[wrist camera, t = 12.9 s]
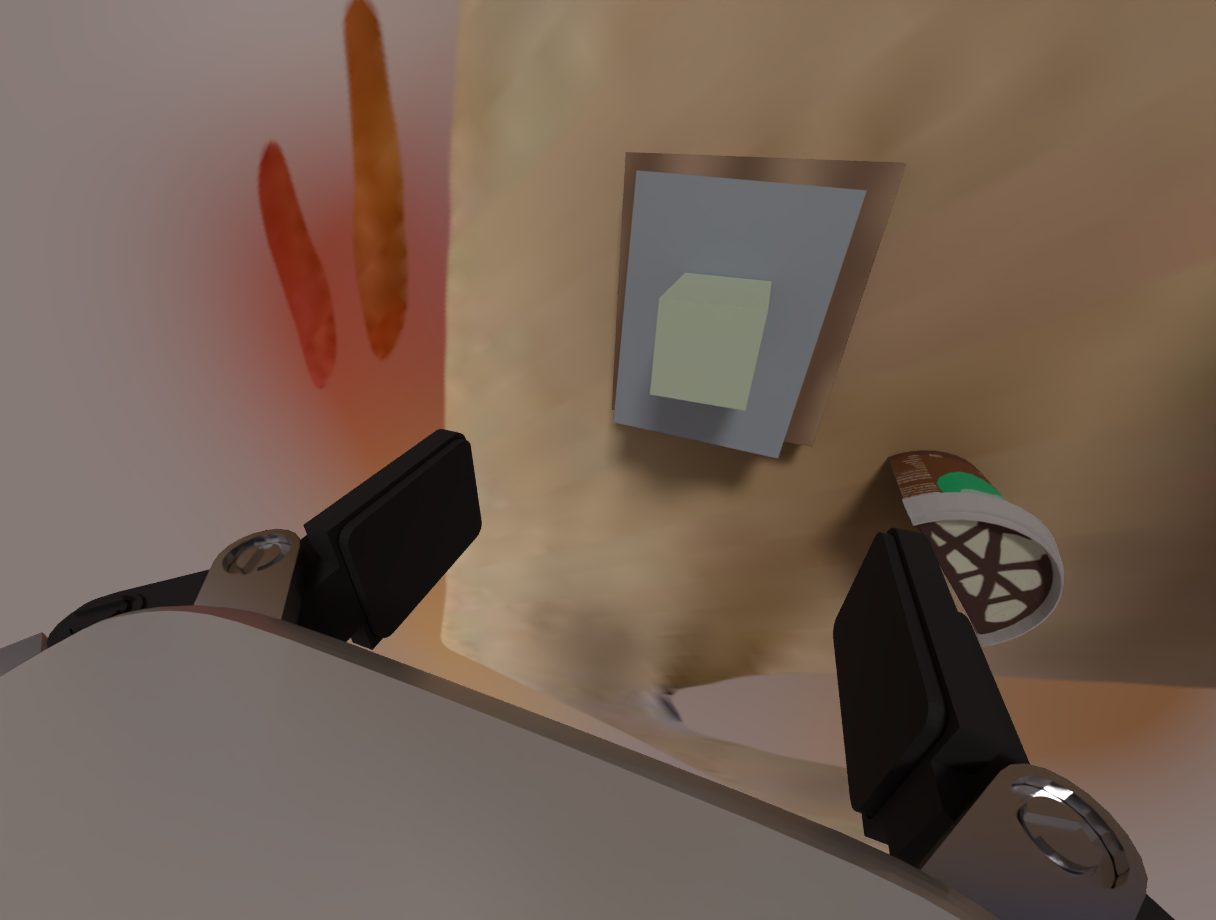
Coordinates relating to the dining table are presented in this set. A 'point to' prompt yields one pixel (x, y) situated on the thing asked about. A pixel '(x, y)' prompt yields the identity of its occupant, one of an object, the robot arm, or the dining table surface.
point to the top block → (741, 248)
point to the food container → (982, 544)
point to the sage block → (709, 339)
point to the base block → (854, 270)
